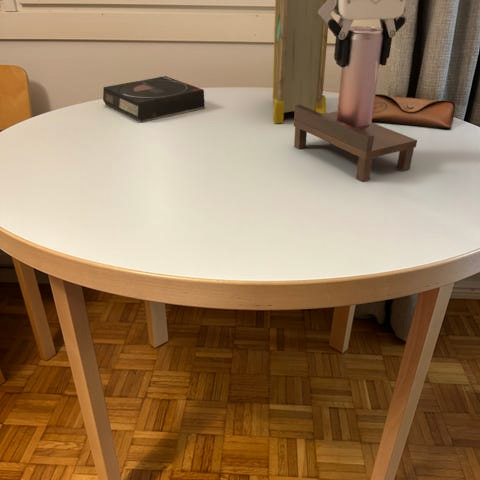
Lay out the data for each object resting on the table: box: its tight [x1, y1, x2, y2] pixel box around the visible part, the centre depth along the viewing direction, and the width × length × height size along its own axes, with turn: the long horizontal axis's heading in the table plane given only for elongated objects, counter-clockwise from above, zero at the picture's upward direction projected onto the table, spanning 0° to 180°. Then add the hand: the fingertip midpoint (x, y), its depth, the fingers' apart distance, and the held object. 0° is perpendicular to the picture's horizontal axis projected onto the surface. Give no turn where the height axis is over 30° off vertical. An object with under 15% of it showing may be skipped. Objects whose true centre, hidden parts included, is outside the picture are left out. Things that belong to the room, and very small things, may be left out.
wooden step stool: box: [293, 105, 418, 182], centre depth 93 cm, size 11×20×7 cm, turn 30°
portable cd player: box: [102, 75, 206, 123], centre depth 120 cm, size 16×17×4 cm
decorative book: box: [272, 0, 329, 124], centre depth 109 cm, size 20×11×30 cm, turn 178°
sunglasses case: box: [372, 93, 456, 129], centre depth 112 cm, size 18×7×7 cm
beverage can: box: [336, 25, 383, 130], centre depth 87 cm, size 6×6×15 cm
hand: (360, 63), depth 86 cm, fingers closed on beverage can, 6 cm apart
